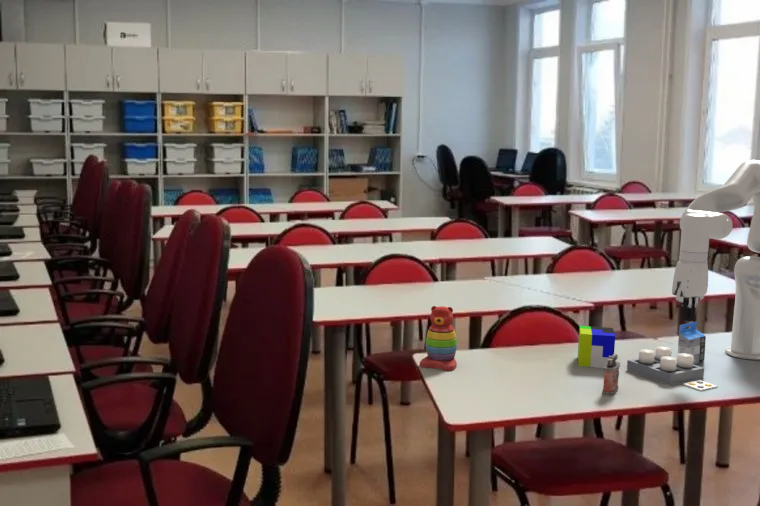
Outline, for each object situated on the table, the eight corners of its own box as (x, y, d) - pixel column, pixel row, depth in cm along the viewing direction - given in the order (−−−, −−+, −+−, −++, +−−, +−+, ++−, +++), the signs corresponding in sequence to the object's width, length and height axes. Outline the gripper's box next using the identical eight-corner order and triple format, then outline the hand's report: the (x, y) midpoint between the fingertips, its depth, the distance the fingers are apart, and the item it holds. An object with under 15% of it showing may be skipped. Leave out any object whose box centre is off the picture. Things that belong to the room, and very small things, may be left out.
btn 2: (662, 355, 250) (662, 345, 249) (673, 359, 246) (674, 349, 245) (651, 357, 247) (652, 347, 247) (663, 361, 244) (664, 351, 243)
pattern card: (699, 381, 236) (699, 379, 236) (717, 387, 230) (717, 385, 230) (682, 384, 232) (683, 383, 232) (700, 391, 227) (700, 389, 227)
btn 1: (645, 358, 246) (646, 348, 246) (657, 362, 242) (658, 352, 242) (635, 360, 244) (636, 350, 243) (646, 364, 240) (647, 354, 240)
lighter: (612, 396, 221) (614, 360, 220) (599, 394, 223) (601, 358, 221) (620, 388, 228) (623, 353, 226) (608, 386, 230) (610, 351, 228)
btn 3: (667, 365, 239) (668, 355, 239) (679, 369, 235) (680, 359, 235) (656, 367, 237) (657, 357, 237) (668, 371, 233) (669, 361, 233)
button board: (659, 363, 252) (660, 353, 252) (703, 378, 239) (704, 368, 238) (626, 369, 245) (627, 360, 245) (670, 385, 232) (670, 374, 231)
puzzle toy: (613, 368, 246) (615, 336, 245) (578, 366, 248) (580, 333, 247) (610, 359, 256) (612, 327, 255) (577, 356, 258) (579, 325, 256)
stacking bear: (417, 366, 245) (419, 308, 242) (428, 358, 254) (430, 301, 251) (452, 371, 241) (454, 312, 238) (462, 362, 250) (464, 305, 247)
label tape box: (687, 367, 249) (690, 327, 247) (675, 363, 252) (679, 324, 250) (704, 362, 254) (708, 323, 252) (692, 359, 258) (696, 320, 255)
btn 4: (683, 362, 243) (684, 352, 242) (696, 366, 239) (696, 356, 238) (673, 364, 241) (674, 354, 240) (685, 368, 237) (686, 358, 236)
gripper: (700, 253, 241) (694, 314, 244) (664, 257, 234) (659, 320, 237) (722, 257, 235) (716, 320, 238) (686, 261, 228) (680, 325, 231)
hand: (688, 320), depth 237 cm, fingers closed
